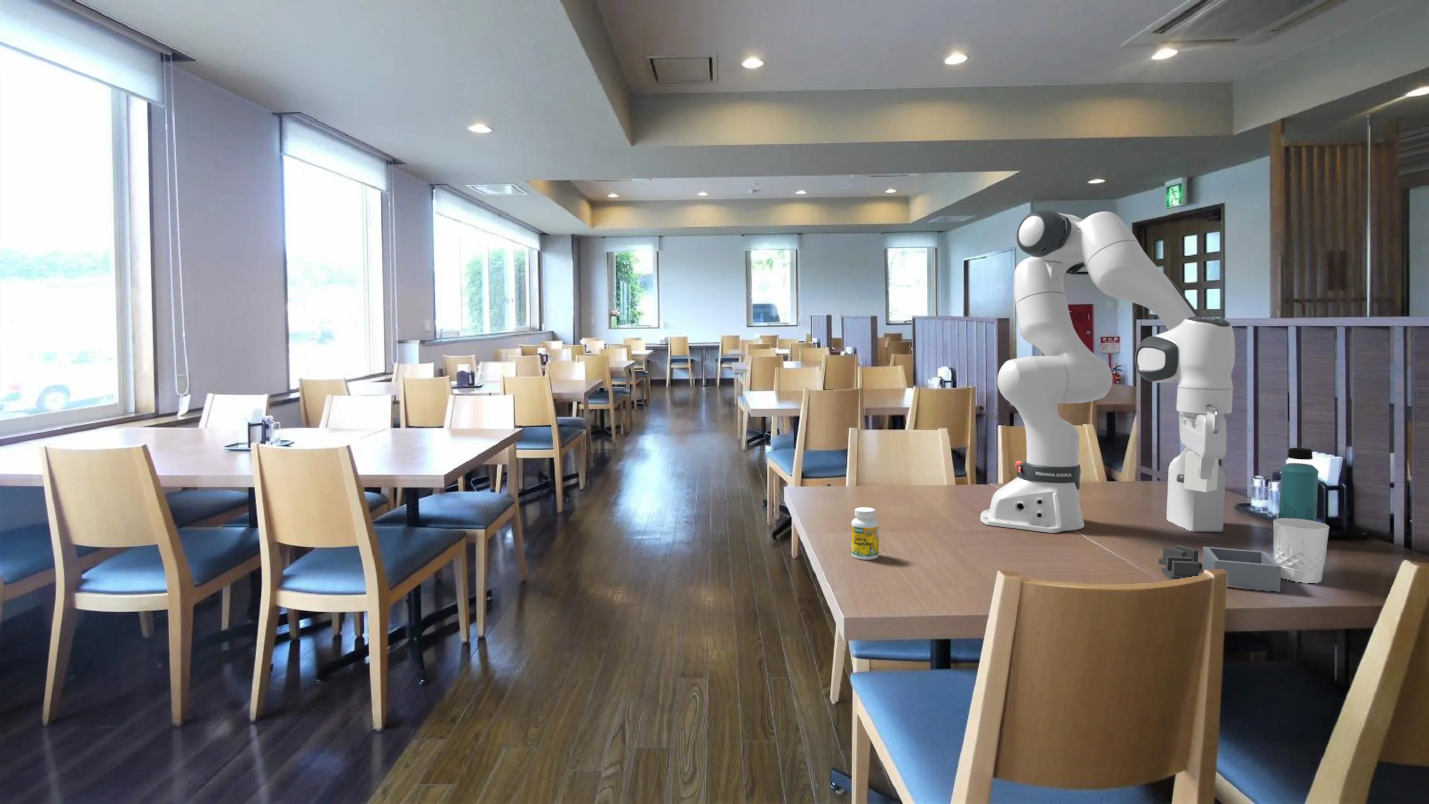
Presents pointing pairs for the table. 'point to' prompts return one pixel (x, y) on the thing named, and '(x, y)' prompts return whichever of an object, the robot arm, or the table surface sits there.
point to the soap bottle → (1194, 501)
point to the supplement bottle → (865, 534)
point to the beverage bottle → (1299, 487)
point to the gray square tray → (1244, 567)
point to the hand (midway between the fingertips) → (1200, 475)
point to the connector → (1197, 474)
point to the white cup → (1300, 548)
